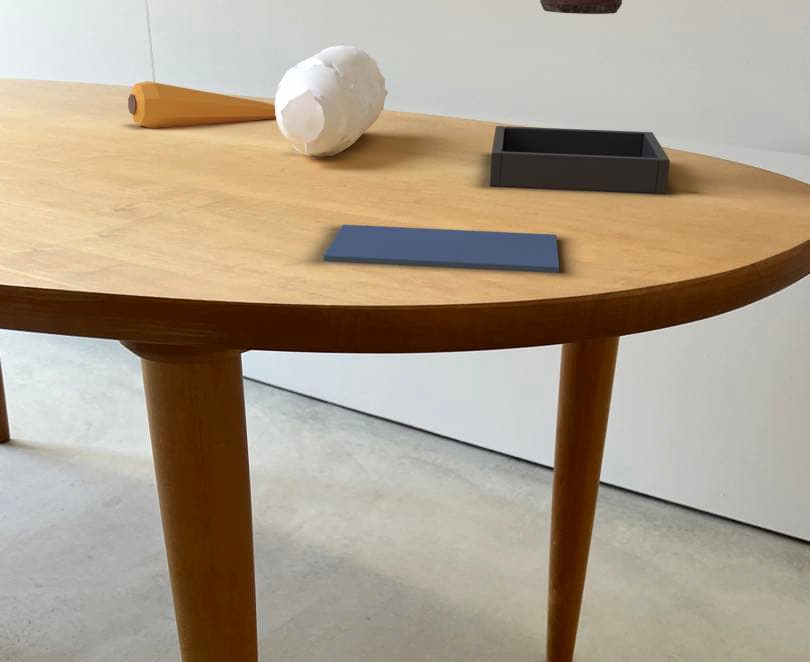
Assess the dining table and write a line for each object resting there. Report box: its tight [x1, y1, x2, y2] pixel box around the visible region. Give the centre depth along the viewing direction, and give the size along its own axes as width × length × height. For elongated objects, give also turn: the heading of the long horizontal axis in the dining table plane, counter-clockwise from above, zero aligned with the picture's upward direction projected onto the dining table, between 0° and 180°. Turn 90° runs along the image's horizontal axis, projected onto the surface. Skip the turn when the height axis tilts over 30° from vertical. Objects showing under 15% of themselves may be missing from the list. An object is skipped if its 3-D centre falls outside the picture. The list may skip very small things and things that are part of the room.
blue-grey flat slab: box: [322, 224, 560, 274], centre depth 69 cm, size 14×8×1 cm, turn 84°
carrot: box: [127, 80, 276, 129], centre depth 112 cm, size 20×4×4 cm, turn 124°
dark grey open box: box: [489, 125, 671, 196], centre depth 91 cm, size 14×14×3 cm
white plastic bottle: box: [274, 44, 389, 158], centre depth 97 cm, size 8×19×8 cm, turn 172°
